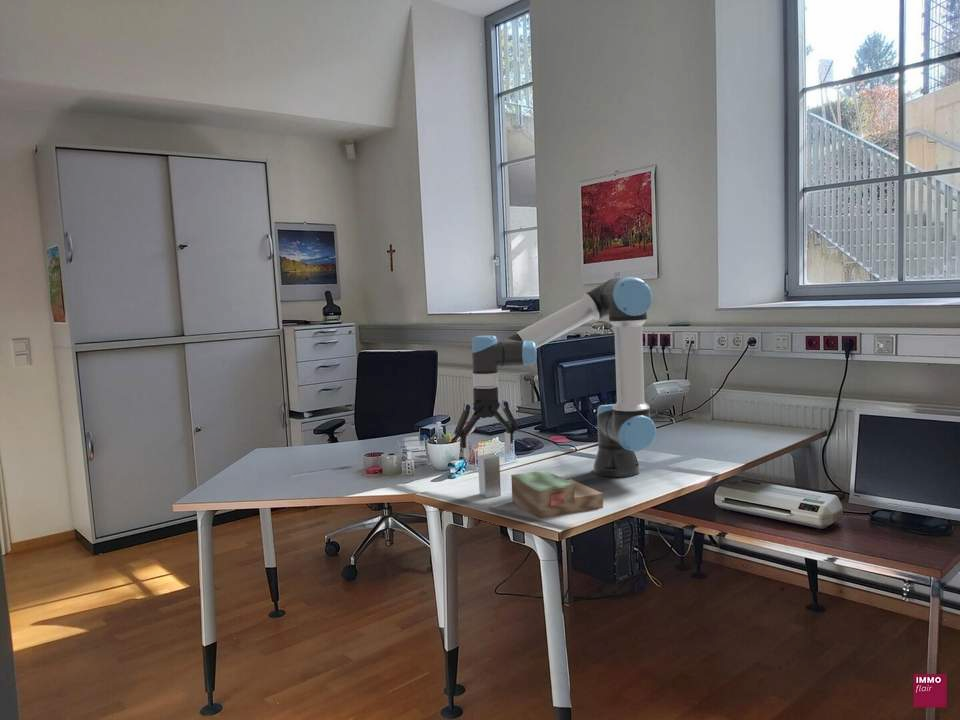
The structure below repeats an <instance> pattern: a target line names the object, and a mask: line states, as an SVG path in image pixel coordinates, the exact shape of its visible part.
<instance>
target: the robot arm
mask: <svg viewBox="0 0 960 720" xmlns="http://www.w3.org/2000/svg"><path fill="white" fill-rule="evenodd" d="M652 302H653V293H652V290H651V287H649V285H648V283H646V282H645V281H644V280H642V279H641V278H639V277H634V276H626V277H625V276H624V277H615V278H611V279H607V280H606V281H605V282H603V283H601V284H599V285H597V286H596V287H594V288H593V289H591V290H589V291H587V292H585V293H584V294H583V295H582V298H581V299H578V300H576V301H575V302H573V303H570V304H569V305H567V306H565V307H563V308H561V309H559V310H557V311H556V312H554V313H552V314H550V315H547V316H546V317H544V318H542V319H540V320H538V321H536V322H534V323H532V324H531V325H529V326H526V327H524V328H523V329H521V330H519V331H517V332H515V333H513V334H511V335H509V336H507V337H501V338H499V339H498V338H497V336H496V335H477V336H474V337H473V338H472V341H471V345H472V346H471V358H472V359H471V361H472V386H473V389H472V393H473V403H472V404H468V403H464V404H463V410H462V412H461V415H460V417H459V419H458V422H457V425H456V427H455V430H454V432H453V435H454V436H457V437H459V438H460V448H461V449H463V458H464V459H465V460H470V444H469V443H470V442H469V441H470V440H469V439H470V438H469V436H467V435H468V434H469V433H470V432H471V430H472V429H473V427H474V426H475V425H476V424H477V422H478V421H479V420H480V419H486V418H493V417H494V418H495V419H496V420H497V422H499V424H500V425H501V426H502V427H503V429H505V430H506V431H505V432H504V453H505V455H511V451H512V449H511V448H512V447H511V444H513V442H514V433H515V431H518V430H519V429H520V428H519V427H520V426H519V425H518V424H517V422H516V420H515V418H514V415H513V414H512V412H511V410H510V407H509V406H510V405H509V402H508V401H506V400H502V401H499V388H498V387H497V386H498V385H499V379H498V376H499V375H498V367H514V366H515V367H517V366H518V367H519V366H520V367H523V366H524V367H526V366H532V365H534V364H535V363H536V362H537V358H538V357H537V356H538V354H537V353H538V352H537V349H538V348H540V347H541V346H543V345H546V344H547V343H550V342H552V341H553V340H555V339H557V338H560V337H561V336H563V335H565V334H567V333H569V332H571V331H573V330H574V329H576V328H578V327H580V326H582V325H584V324H586V323H589V322H590V321H591V320H595V321H599V320H600V319H603V318H604V317H608V322H609V323H610V324H611V326H613V330H614V333H613V334H614V353H615V354H614V356H615V357H614V358H615V384H616V386H615V387H616V403H610V404H601V405H598V407H597V413H596V417H597V418H596V419H597V423H596V424H597V444H598V445H597V447H598V449H597V453H596V457H595V460H594V462H593V473H594V474H595V475H597V476H602V477H609V478H624V477H632V476H635V475H636V476H637V474H639V473H640V463H639V462H638V461H639V460H638V457H637V454H636V452H641V451H644V450H646V449H648V448H649V447H650V446H651V445H652V444H653V443H654V441H655V439H656V436H657V427H656V424H655V422H654V421H653V420H652V419H651V408H650V405H649V404H648V403H647V402H646V401H645V377H644V374H645V373H644V371H645V370H644V369H645V368H644V346H643V345H644V344H643V339H644V337H643V325H644V324H645V323H646V322H647V321H648V310H649V309H650V307H651V305H652ZM499 408H500V409H502V411H503V413H504V415H505V417H506V418H507V421H508V422H507V421H506V420H505V419H504V417H503V416H502V415H501V413H500V412H499V411H498V410H499ZM472 410H473V411H474V412H473V414H472V416H471V417H470V419H469V420H468V418H469V415H470V412H472ZM467 420H468V422H467ZM466 422H467V423H466Z"/></svg>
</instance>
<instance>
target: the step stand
mask: <svg viewBox="0 0 960 720" xmlns="http://www.w3.org/2000/svg"><path fill="white" fill-rule="evenodd" d="M510 477H511V478H510V479H511V500H512V502H513V503H514V504H516V505H517V506H519V507H521V508H522V509H524V510H525V511H527V512H529V513H531V514H532V515H534V516H535V517H537V518H538V519H541V518H546V517H553V516H558V515H559V516H560V515H565V514H572V513H577V512H583V511H589V510H595V509H600V508H602V509H603V508H604V493H603V492H601V491H598V490H596V489H595V488H592V487H590V486H588V485H585V484H584V483H582V482H578V481H577V480H574V479H573V478H571V479H565V478H563V477H560V476H559V475H556V474H554V473H552V472H550V471H547V470H545V469H543V470H537V471H536V470H535V471H529V472H522V473H516V474H511V476H510Z"/></svg>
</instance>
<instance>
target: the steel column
mask: <svg viewBox="0 0 960 720" xmlns="http://www.w3.org/2000/svg"><path fill="white" fill-rule="evenodd" d="M477 462H478V464H477V465H478V466H477V467H478V484H479V485H478V488H479V489H478V490H479V495H480V496H482V497H484V498H485V499H488V498H495V497H501V496H502V494H501V492H502V491H501V489H502V488H501V469H500V467H501V465H500V456H499V455H496V454H494V453H489V454H481V455H477Z"/></svg>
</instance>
